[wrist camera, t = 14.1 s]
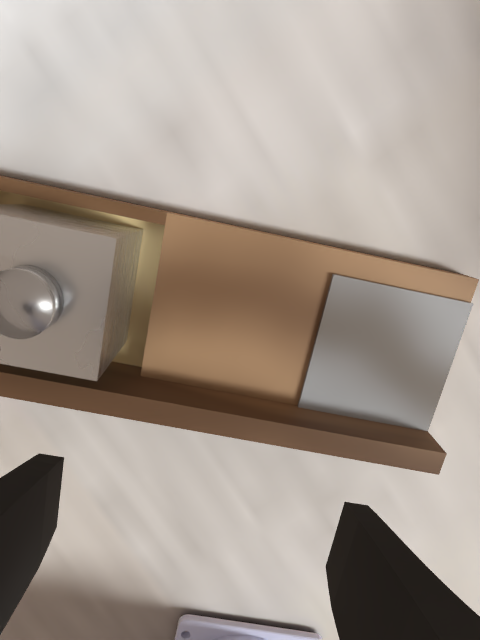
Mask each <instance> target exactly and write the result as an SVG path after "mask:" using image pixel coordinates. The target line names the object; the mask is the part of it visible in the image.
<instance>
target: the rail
mask: <svg viewBox="0 0 480 640" xmlns="http://www.w3.org/2000/svg"><path fill="white" fill-rule="evenodd" d="M0 204H24V205H29V206H34V207H39V208H44V209H48V210H53V211H58V212H63V213H67V214H72V215H77V216H82V217H87V218H91V219H96V220H101V221H106V222H110V223H115V224H120V225H125V226H130V227H134V228H139V229H143V236H142V242H141V249H140V256H139V262H138V269H137V276H136V282H135V289H134V296H133V302H132V309H131V315H130V322H129V329H128V335H127V341H126V343H125V344H124V346H123V347H122V348H121V350H120V351H119V352H118V354H117V355H116V356H115V358H114V359H113V360H112V362H111V363H110V364H109V366H108V367H107V369H106V370H105V371H104V373H103V374H102V375H101V377H100V378H99V379H98V381H93V380H87V379H82V378H76V377H71V376H65V375H60V374H55V373H49V372H44V371H38V370H33V369H27V368H22V367H16V366H11V365H5V364H0V396H2V397H8V398H14V399H19V400H25V401H30V402H36V403H42V404H47V405H53V406H58V407H64V408H69V409H75V410H81V411H86V412H92V413H97V414H103V415H109V416H114V417H120V418H125V419H131V420H137V421H142V422H148V423H153V424H159V425H164V426H170V427H176V428H181V429H187V430H192V431H198V432H204V433H209V434H215V435H220V436H226V437H232V438H237V439H243V440H248V441H254V442H259V443H265V444H271V445H276V446H282V447H287V448H293V449H299V450H304V451H310V452H315V453H321V454H327V455H332V456H338V457H343V458H349V459H354V460H360V461H366V462H371V463H377V464H382V465H388V466H394V467H399V468H405V469H410V470H416V471H422V472H427V473H433V474H438V475H439V473H440V470H441V467H442V465H443V462H444V459H445V457H446V452H445V451H444V450H443V449H442V448H441V446H440V445H439V444H438V443H437V442H436V441H435V439H434V438H433V437H432V436H431V435H430V434H429V432H428V429H429V426H430V424H431V421H432V418H433V415H434V412H435V410H436V407H437V404H438V401H439V398H440V396H441V393H442V390H443V387H444V384H445V382H446V379H447V376H448V373H449V370H450V367H451V365H452V362H453V359H454V356H455V353H456V351H457V348H458V345H459V342H460V339H461V337H462V334H463V331H464V328H465V325H466V323H467V320H468V317H469V314H470V311H471V309H472V306H473V303H471V300H472V298H473V295H474V292H475V289H476V286H477V283H478V281H479V279H476V278H473V277H469V276H466V275H463V274H458V273H453V272H449V271H444V270H439V269H435V268H430V267H425V266H421V265H416V264H411V263H407V262H402V261H398V260H393V259H388V258H384V257H379V256H374V255H370V254H365V253H360V252H356V251H351V250H346V249H342V248H337V247H332V246H328V245H323V244H318V243H314V242H309V241H304V240H300V239H295V238H290V237H286V236H281V235H276V234H272V233H267V232H262V231H258V230H253V229H249V228H244V227H239V226H235V225H230V224H225V223H221V222H216V221H211V220H207V219H202V218H197V217H193V216H188V215H183V214H179V213H174V212H169V211H165V210H160V209H155V208H151V207H146V206H141V205H137V204H132V203H127V202H123V201H118V200H114V199H109V198H104V197H100V196H95V195H90V194H86V193H81V192H76V191H72V190H67V189H62V188H58V187H53V186H48V185H44V184H39V183H34V182H30V181H25V180H20V179H16V178H11V177H6V176H2V175H0Z"/></svg>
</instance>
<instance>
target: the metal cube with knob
mask: <svg viewBox="0 0 480 640" xmlns="http://www.w3.org/2000/svg"><path fill="white" fill-rule="evenodd" d="M142 236H143V229H139V228H134V227H130V226H125V225H120V224H115V223H110V222H106V221H101V220H96V219H91V218H87V217H82V216H77V215H72V214H67V213H63V212H58V211H53V210H48V209H44V208H39V207H34V206H29V205H24V204H0V364H5V365H11V366H16V367H22V368H27V369H33V370H38V371H44V372H49V373H55V374H60V375H65V376H71V377H76V378H82V379H87V380H93V381H98V379H99V378H100V377H101V375H102V374H103V373H104V371H105V370H106V369H107V367H108V366H109V364H110V363H111V362H112V360H113V359H114V358H115V356H116V355H117V354H118V352H119V351H120V350H121V348H122V347H123V346H124V344H125V343H126V341H127V335H128V329H129V322H130V315H131V309H132V302H133V296H134V289H135V282H136V276H137V269H138V262H139V256H140V249H141V242H142Z"/></svg>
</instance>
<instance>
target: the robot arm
mask: <svg viewBox="0 0 480 640" xmlns="http://www.w3.org/2000/svg"><path fill="white" fill-rule="evenodd" d="M63 462H64V457H58V456H51V455H45V454H38V455H36V456H34V457H33V458H31V459H30V460H28V461H26V462H25V463H23V464H22V465H20V466H18V467H17V468H15V469H14V470H12V471H11V472H9V473H7V474H6V475H4V476H3V477H1V478H0V634H1V633H2V631H3V629H4V627H5V626H6V624H7V622H8V621H9V619H10V617H11V615H12V614H13V612H14V610H15V608H16V607H17V605H18V603H19V602H20V600H21V598H22V596H23V595H24V593H25V591H26V589H27V588H28V586H29V584H30V582H31V581H32V579H33V577H34V575H35V574H36V572H37V570H38V568H39V566H40V564H41V562H42V559H43V557H44V555H45V553H46V551H47V548H48V546H49V544H50V541H51V539H52V536H53V534H54V532H55V529H56V527H57V518H58V509H59V500H60V490H61V481H62V471H63ZM326 572H327V580H328V588H329V595H330V601H331V608H332V612H333V616H334V620H335V624H336V628H337V632H338V635H339V639H340V640H480V616H479V615H477V614H476V613H475V612H474V611H473V610H472V609H471V608H469V607H468V606H467V605H466V604H465V603H464V602H463V601H462V600H461V599H460V598H459V597H458V596H457V595H456V594H454V593H453V592H452V591H451V590H450V589H449V588H448V587H447V586H446V585H445V584H444V583H443V582H442V581H441V580H440V579H439V578H438V577H437V576H436V575H435V574H434V573H433V572H432V571H431V570H430V569H429V568H428V567H427V566H426V565H425V564H424V563H423V562H422V561H421V560H420V559H419V558H418V557H417V556H416V555H415V554H414V553H413V552H412V551H411V550H410V549H409V548H408V547H407V546H406V545H405V544H404V542H403V541H402V540H401V539H400V538H399V537H398V536H397V535H396V534H395V533H394V532H393V531H392V530H391V529H390V528H389V527H388V525H387V524H386V523H385V522H384V521H383V520H382V519H381V518H380V517H379V516H378V515H377V514H376V513H375V512H374V511H373V510H372V509H371V508H370V507H369V506H368V505H361V504H355V503H349V502H345V503H344V506H343V510H342V513H341V516H340V520H339V523H338V527H337V530H336V533H335V537H334V540H333V544H332V547H331V550H330V554H329V557H328V561H327V564H326ZM185 631H188V632H185ZM174 640H322V637H321V636H320V635H319V634H317V633H312V632H306V631H299V630H292V629H285V628H279V627H272V626H265V625H258V624H252V623H245V622H238V621H231V620H225V619H218V618H211V617H204V616H198V615H191V614H186V615H183V616H181V617H180V619H179V621H178V626H177V630H176V635H175V639H174Z"/></svg>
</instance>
